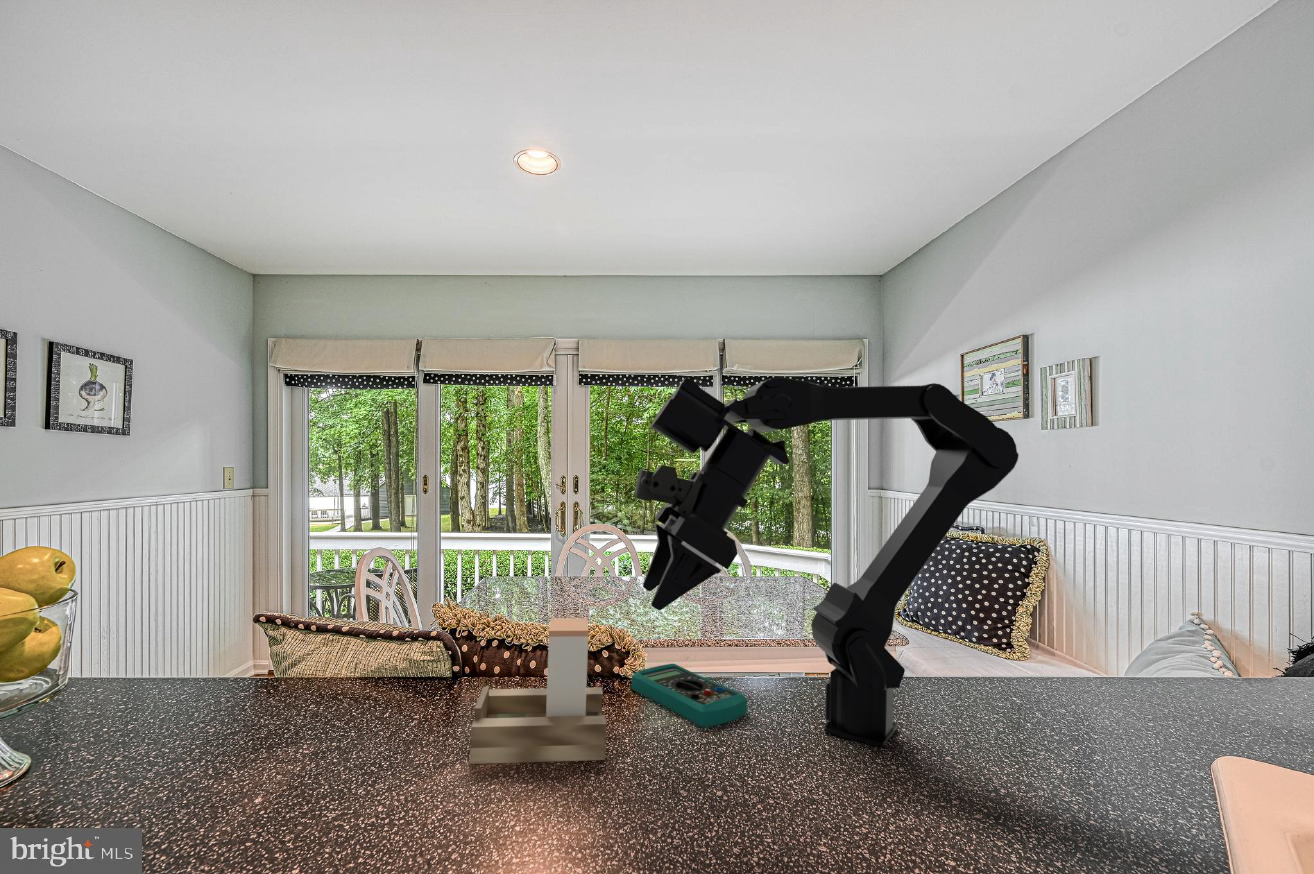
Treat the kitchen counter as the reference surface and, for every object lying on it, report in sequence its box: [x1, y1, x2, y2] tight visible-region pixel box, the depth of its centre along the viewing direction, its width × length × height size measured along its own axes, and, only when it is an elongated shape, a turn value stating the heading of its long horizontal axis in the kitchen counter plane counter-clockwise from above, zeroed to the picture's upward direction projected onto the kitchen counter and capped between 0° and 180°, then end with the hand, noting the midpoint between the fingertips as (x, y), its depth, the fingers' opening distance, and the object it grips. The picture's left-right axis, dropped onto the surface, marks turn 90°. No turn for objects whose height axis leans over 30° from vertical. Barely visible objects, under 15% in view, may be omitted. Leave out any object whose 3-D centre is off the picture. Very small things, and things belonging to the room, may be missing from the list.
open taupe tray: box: [469, 686, 607, 765], centre depth 67 cm, size 13×10×4 cm
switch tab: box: [546, 617, 589, 717], centre depth 67 cm, size 4×5×10 cm
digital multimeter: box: [631, 663, 748, 728], centre depth 78 cm, size 7×15×3 cm, turn 37°
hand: (650, 597), depth 69 cm, fingers open, 9 cm apart
